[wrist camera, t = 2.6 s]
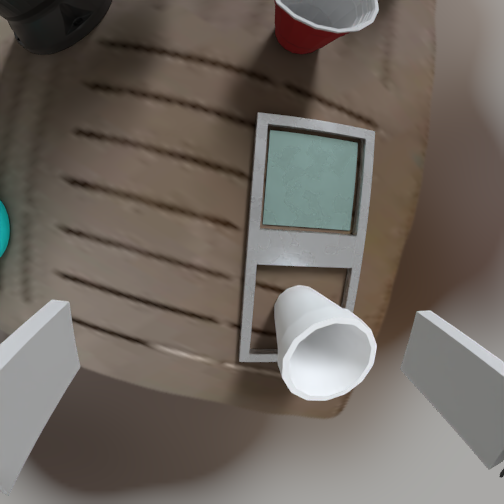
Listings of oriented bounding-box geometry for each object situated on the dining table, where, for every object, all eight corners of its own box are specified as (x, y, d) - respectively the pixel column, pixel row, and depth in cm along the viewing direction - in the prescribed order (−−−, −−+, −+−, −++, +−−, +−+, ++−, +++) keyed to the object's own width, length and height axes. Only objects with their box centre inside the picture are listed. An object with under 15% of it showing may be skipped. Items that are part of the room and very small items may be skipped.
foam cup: (246, 316, 39) (260, 376, 27) (292, 259, 38) (328, 298, 26) (301, 351, 41) (331, 411, 29) (345, 299, 40) (393, 346, 28)
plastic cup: (308, -7, 30) (338, -56, 19) (352, 55, 33) (399, 19, 21) (237, 17, 30) (246, -37, 19) (282, 84, 33) (311, 46, 21)
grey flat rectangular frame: (238, 356, 40) (239, 361, 39) (256, 114, 34) (257, 112, 32) (339, 354, 42) (342, 359, 41) (369, 132, 35) (374, 131, 34)
